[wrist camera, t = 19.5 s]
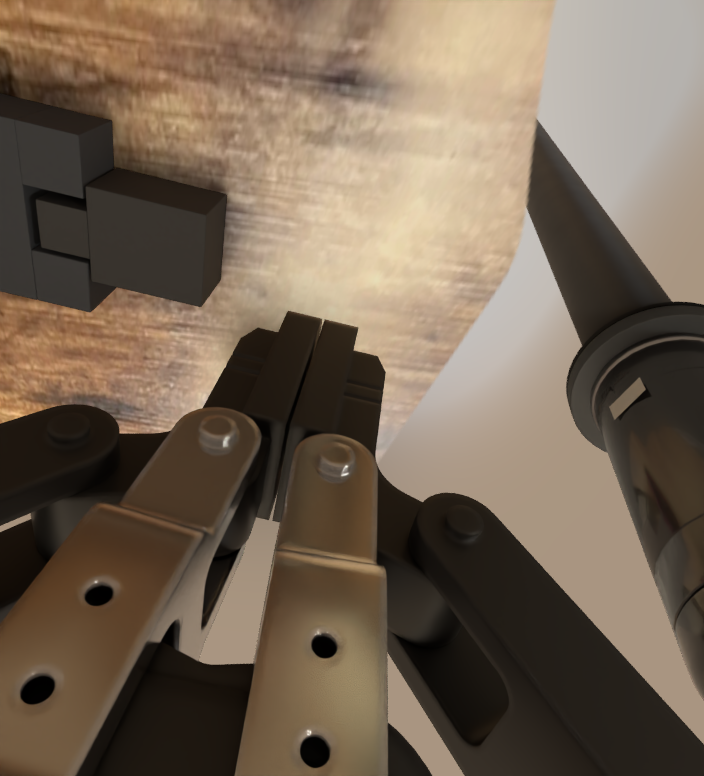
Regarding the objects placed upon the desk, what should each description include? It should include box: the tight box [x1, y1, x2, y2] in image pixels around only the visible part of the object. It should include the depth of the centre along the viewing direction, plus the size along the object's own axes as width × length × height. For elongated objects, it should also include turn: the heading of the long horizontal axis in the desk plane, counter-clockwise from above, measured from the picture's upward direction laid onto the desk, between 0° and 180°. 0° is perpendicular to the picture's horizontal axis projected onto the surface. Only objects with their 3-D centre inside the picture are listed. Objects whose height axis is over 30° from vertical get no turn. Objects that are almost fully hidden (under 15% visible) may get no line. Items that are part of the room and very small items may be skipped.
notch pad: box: [0, 93, 116, 312], centre depth 36 cm, size 10×11×4 cm
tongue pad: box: [36, 168, 227, 307], centre depth 36 cm, size 10×6×4 cm, turn 78°
